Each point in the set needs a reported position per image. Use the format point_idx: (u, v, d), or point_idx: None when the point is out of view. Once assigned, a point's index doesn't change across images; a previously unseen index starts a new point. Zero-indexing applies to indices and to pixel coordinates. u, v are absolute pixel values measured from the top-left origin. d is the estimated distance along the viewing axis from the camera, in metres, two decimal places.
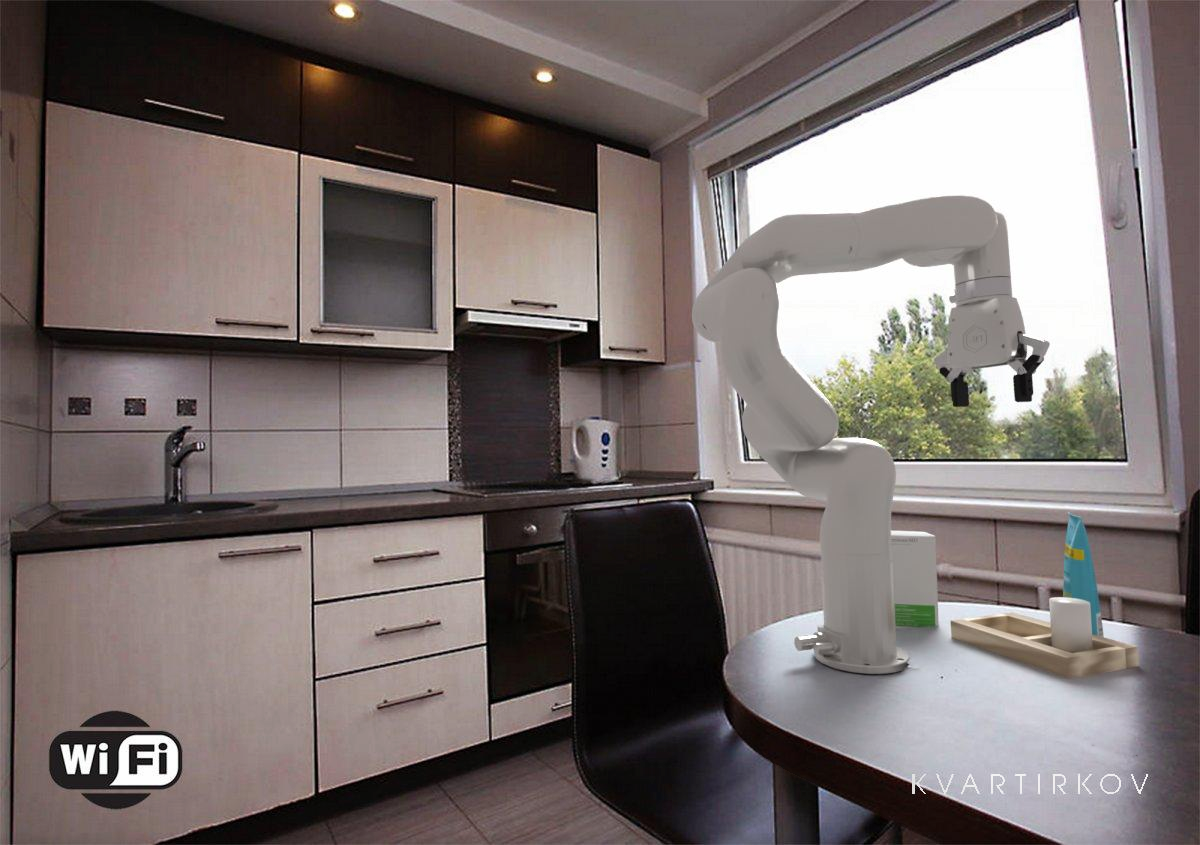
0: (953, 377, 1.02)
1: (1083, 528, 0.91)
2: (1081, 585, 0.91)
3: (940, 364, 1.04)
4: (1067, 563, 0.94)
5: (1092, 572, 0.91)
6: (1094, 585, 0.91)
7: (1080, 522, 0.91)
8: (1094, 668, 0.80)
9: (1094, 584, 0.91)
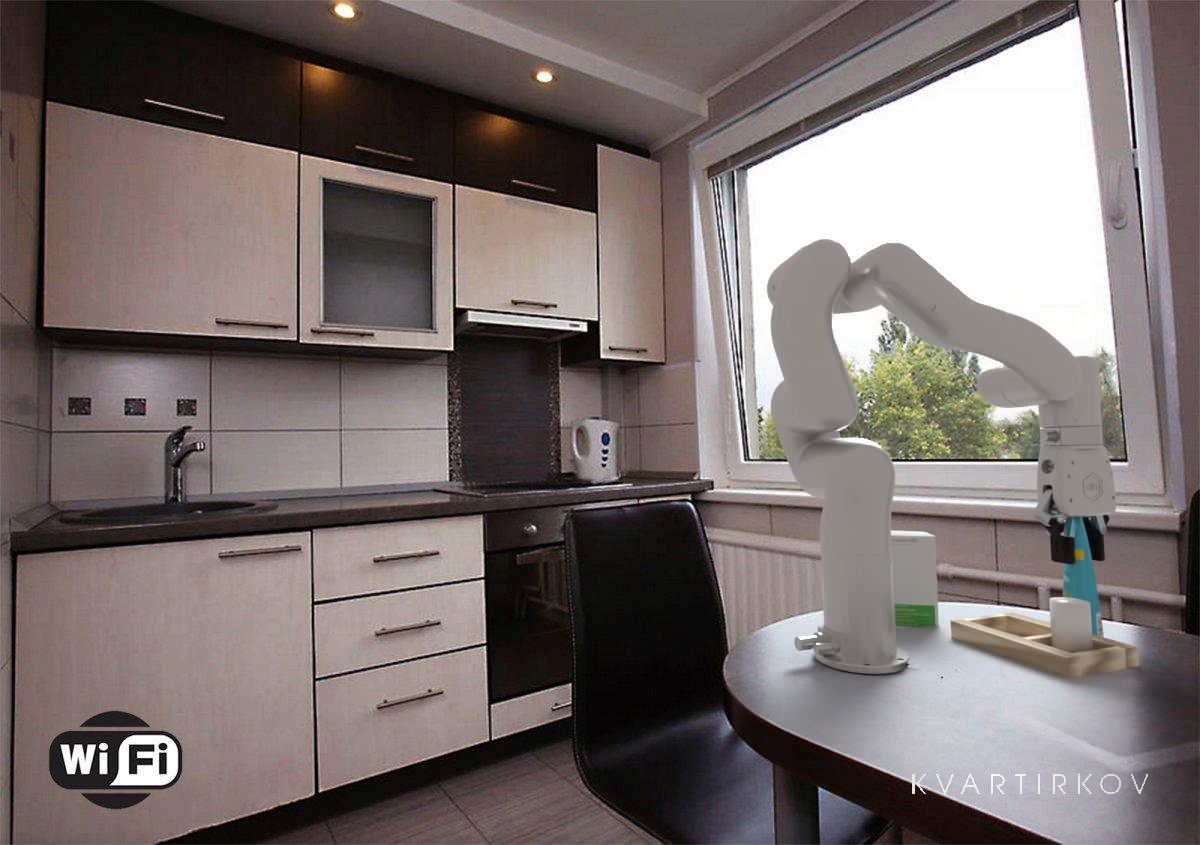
0: (1069, 529, 0.92)
1: (1083, 528, 0.91)
2: (1081, 585, 0.91)
3: (1048, 517, 0.92)
4: None
5: (1092, 572, 0.91)
6: (1094, 585, 0.91)
7: (1080, 522, 0.91)
8: (1094, 668, 0.80)
9: (1094, 584, 0.91)
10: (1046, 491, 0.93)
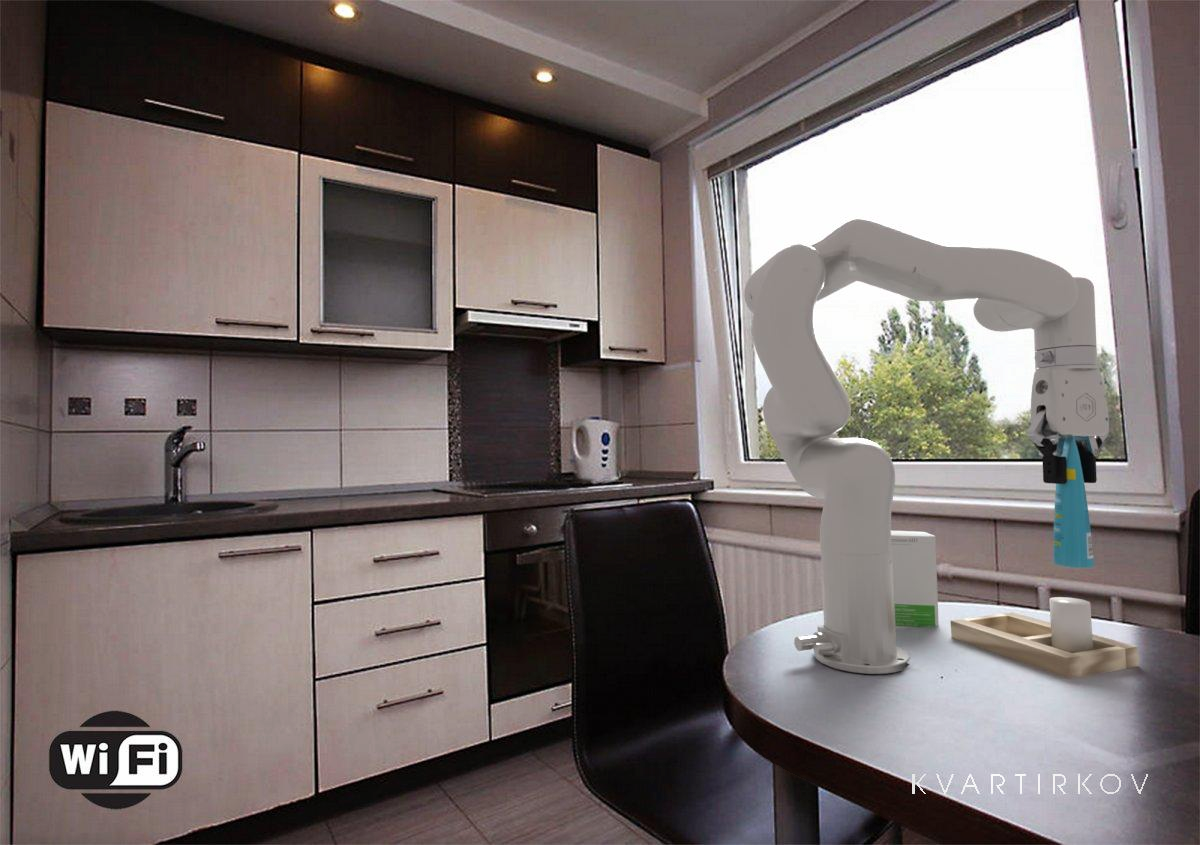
0: (1061, 449, 0.92)
1: (1075, 447, 0.91)
2: (1072, 504, 0.92)
3: (1041, 436, 0.92)
4: (1059, 484, 0.94)
5: (1083, 492, 0.92)
6: (1085, 505, 0.92)
7: (1072, 441, 0.91)
8: (1094, 668, 0.80)
9: (1085, 504, 0.92)
10: (1039, 412, 0.94)
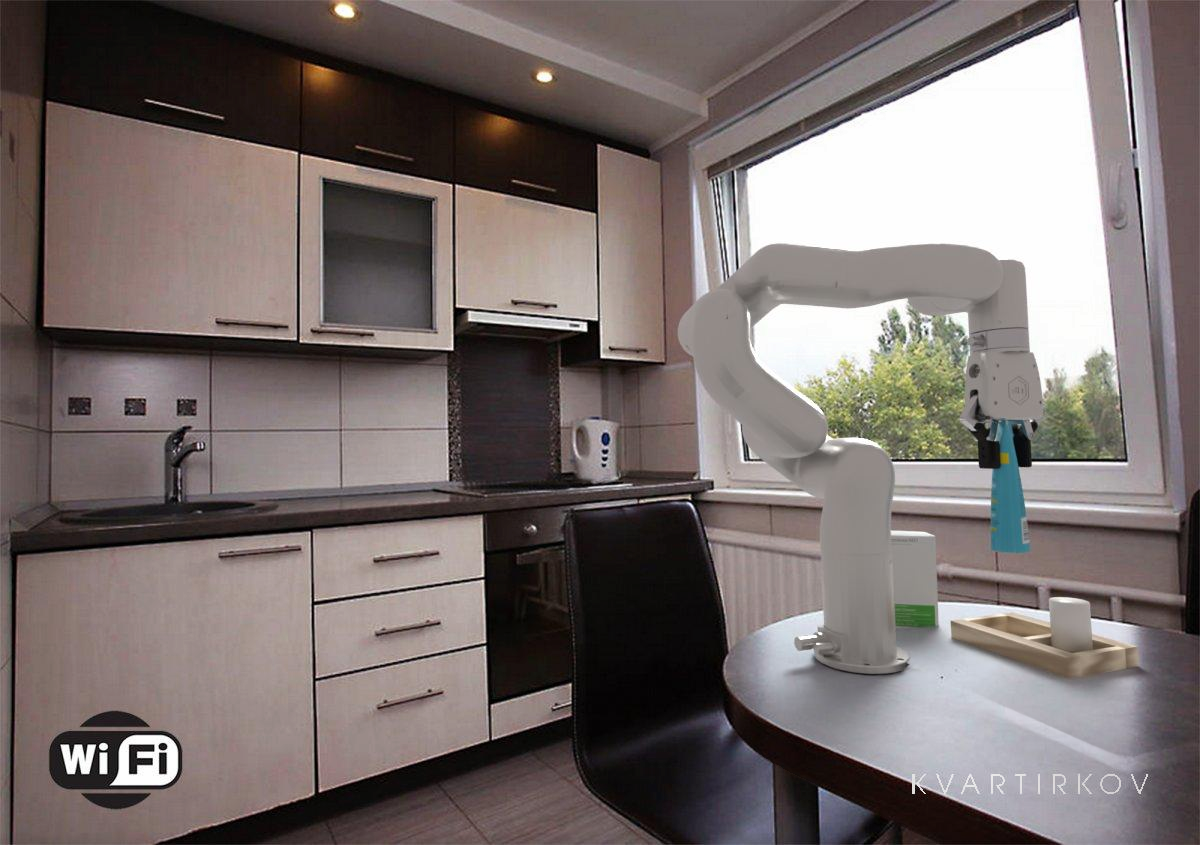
0: (995, 434, 0.91)
1: (1008, 431, 0.90)
2: (1006, 489, 0.90)
3: (973, 421, 0.91)
4: (994, 469, 0.93)
5: (1017, 476, 0.90)
6: (1019, 489, 0.90)
7: (1005, 425, 0.90)
8: (1094, 668, 0.80)
9: (1019, 488, 0.90)
10: (972, 396, 0.92)
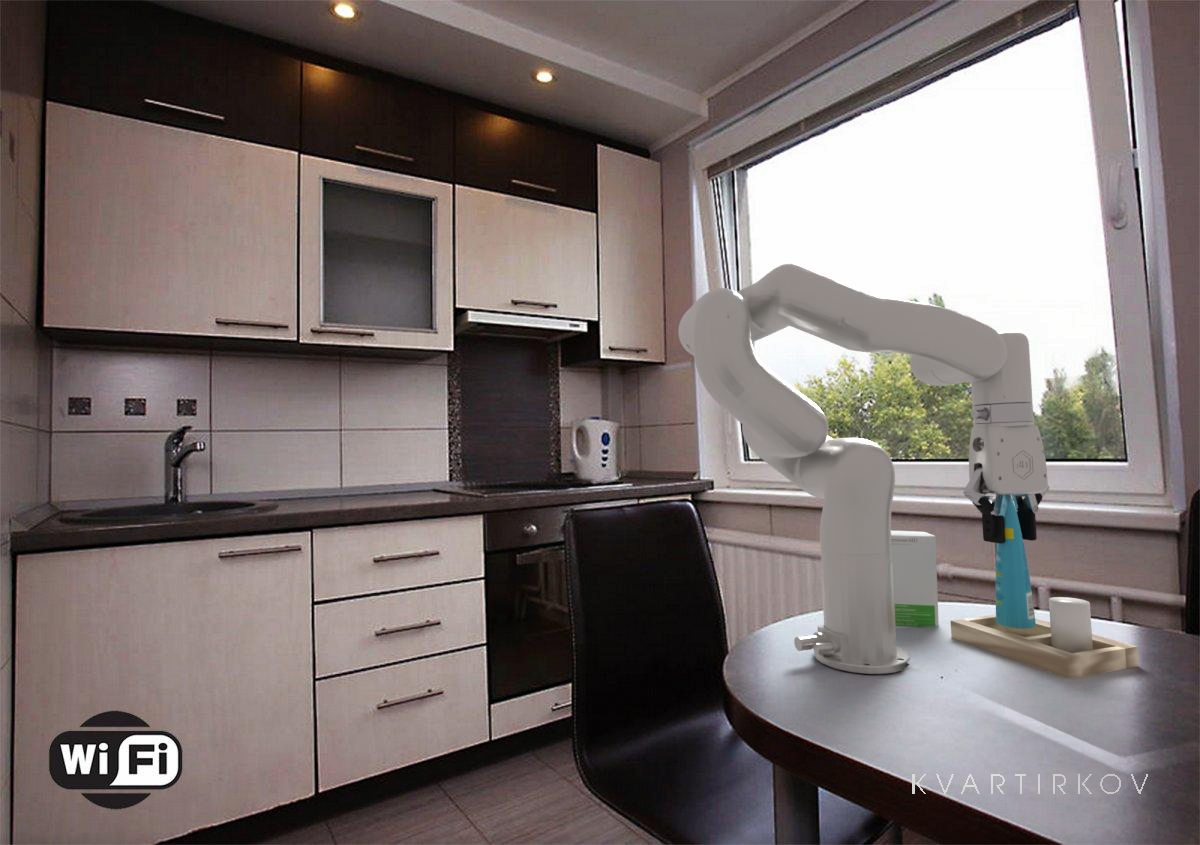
0: (999, 508, 0.91)
1: (1012, 506, 0.90)
2: (1011, 564, 0.90)
3: (978, 495, 0.91)
4: None
5: (1022, 551, 0.90)
6: (1024, 564, 0.90)
7: (1009, 500, 0.90)
8: (1094, 668, 0.80)
9: (1024, 563, 0.90)
10: (976, 469, 0.92)
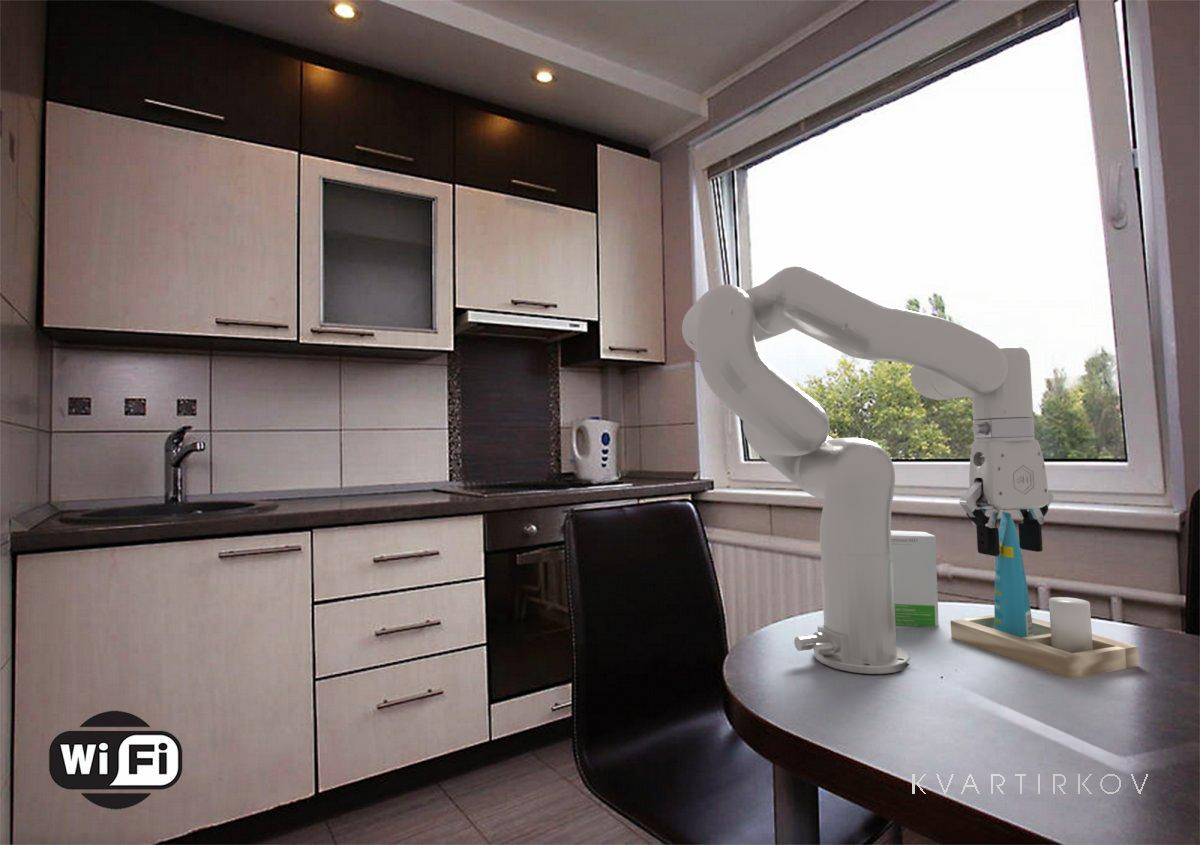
0: (994, 521, 0.90)
1: (1012, 525, 0.89)
2: (1011, 582, 0.90)
3: (973, 506, 0.90)
4: (998, 561, 0.92)
5: (1021, 570, 0.90)
6: (1023, 583, 0.90)
7: (1009, 519, 0.89)
8: (1094, 668, 0.80)
9: (1023, 582, 0.90)
10: (976, 482, 0.92)
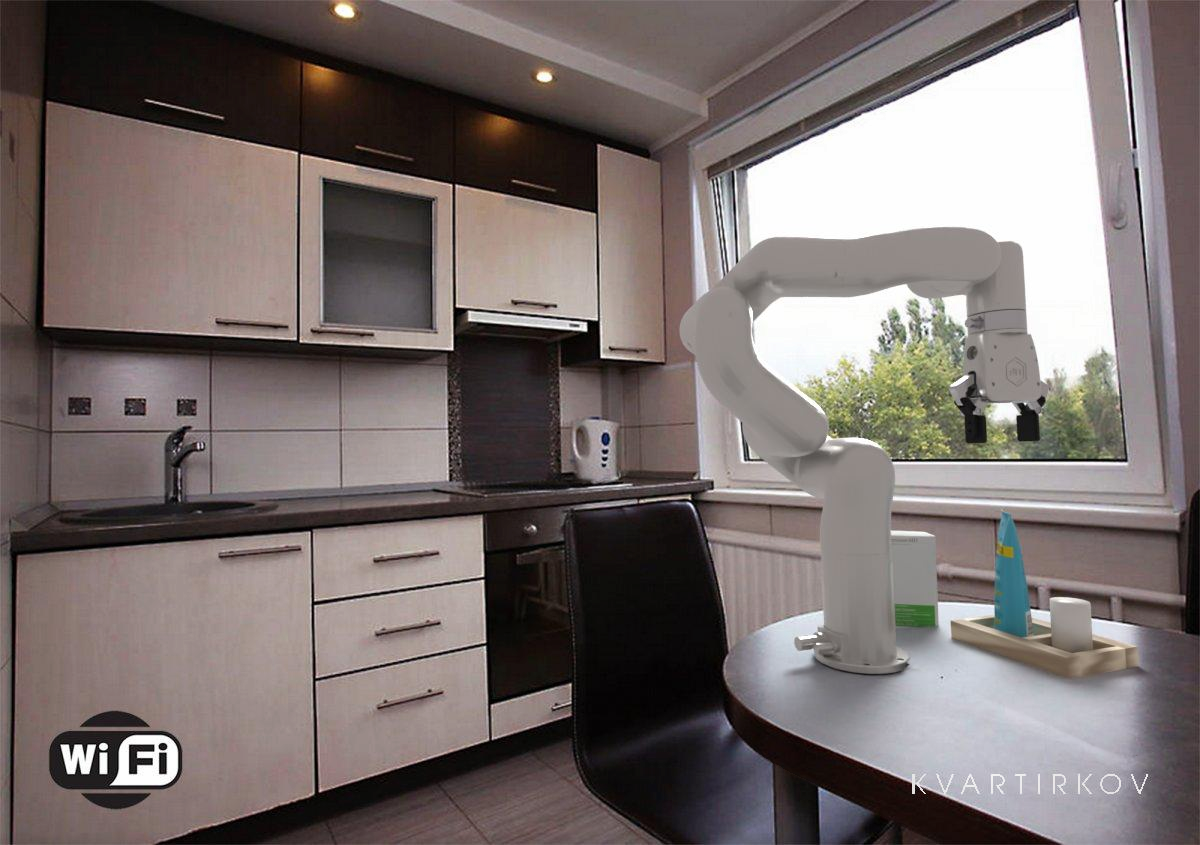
0: (982, 410, 0.91)
1: (1012, 525, 0.89)
2: (1011, 582, 0.90)
3: (962, 393, 0.91)
4: (998, 561, 0.92)
5: (1021, 570, 0.90)
6: (1023, 583, 0.90)
7: (1009, 519, 0.89)
8: (1094, 668, 0.80)
9: (1023, 582, 0.90)
10: (969, 374, 0.93)
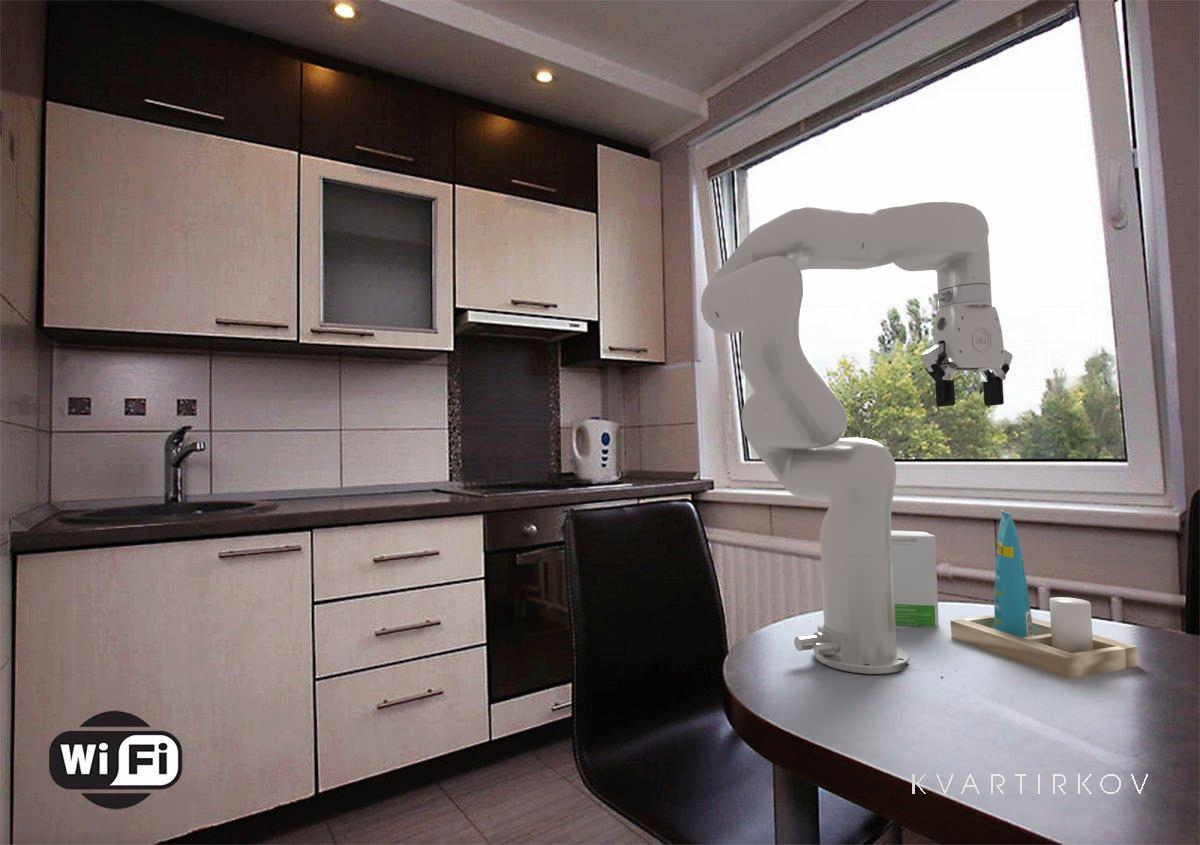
0: (950, 375, 1.00)
1: (1012, 525, 0.89)
2: (1011, 582, 0.90)
3: (932, 360, 1.00)
4: (998, 561, 0.92)
5: (1021, 570, 0.90)
6: (1023, 583, 0.90)
7: (1009, 519, 0.89)
8: (1094, 668, 0.80)
9: (1023, 582, 0.90)
10: (939, 343, 1.02)
